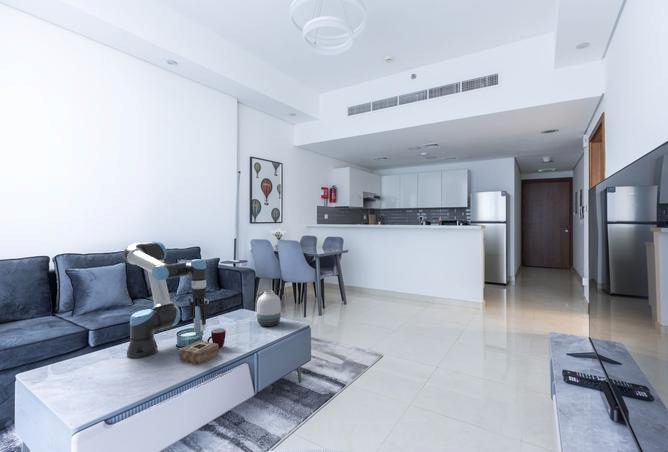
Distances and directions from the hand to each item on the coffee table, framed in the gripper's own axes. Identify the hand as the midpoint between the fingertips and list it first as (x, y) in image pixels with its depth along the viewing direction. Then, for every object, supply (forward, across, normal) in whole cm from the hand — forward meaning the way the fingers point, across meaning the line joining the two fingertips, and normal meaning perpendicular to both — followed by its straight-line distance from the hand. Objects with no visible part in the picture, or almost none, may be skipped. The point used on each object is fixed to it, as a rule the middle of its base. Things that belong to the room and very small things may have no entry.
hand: (199, 330), depth 177 cm
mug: (+15, -1, +14) cm, 21 cm away
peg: (+3, 0, 0) cm, 3 cm away
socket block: (+15, 0, 0) cm, 15 cm away
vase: (+15, +2, +63) cm, 65 cm away
